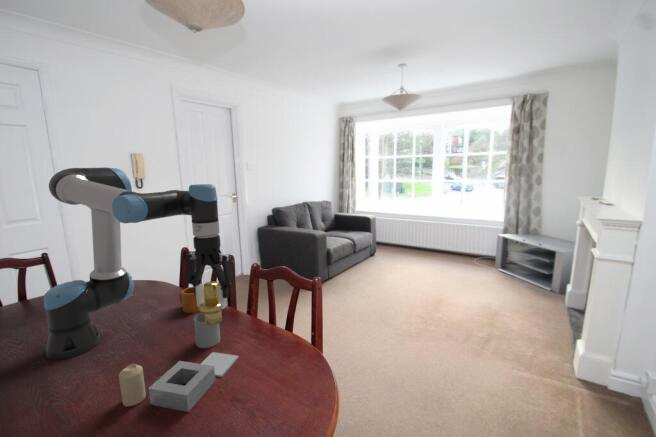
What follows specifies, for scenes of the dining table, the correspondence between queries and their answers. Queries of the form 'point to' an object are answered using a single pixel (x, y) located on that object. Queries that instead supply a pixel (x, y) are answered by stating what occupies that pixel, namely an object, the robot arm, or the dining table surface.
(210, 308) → the gold flanged shaft
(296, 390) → the dining table surface
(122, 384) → the candle
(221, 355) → the mat
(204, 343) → the cup
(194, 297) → the mug
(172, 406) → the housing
